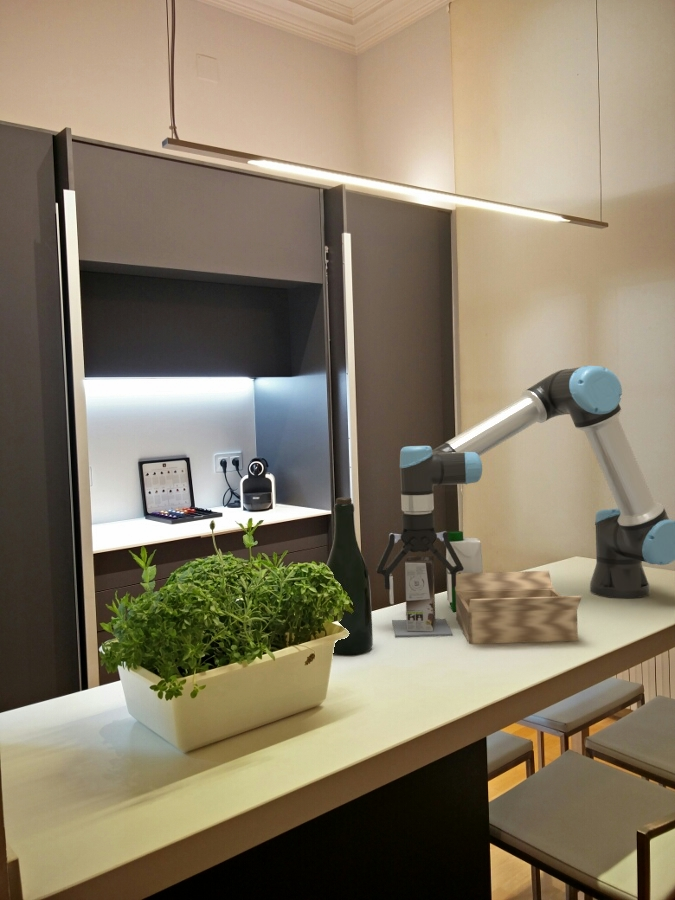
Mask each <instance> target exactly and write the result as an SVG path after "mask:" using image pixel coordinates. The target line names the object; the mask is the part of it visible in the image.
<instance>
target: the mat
mask: <svg viewBox="0 0 675 900" xmlns="http://www.w3.org/2000/svg"><path fill="white" fill-rule="evenodd" d="M391 622H392V628H393V634H394V638H420V637H423V638H424V637H453V636H454V634H453V632H452V629H451V627H450V625H449V622H448V621H447V619H446V618H435V625H434V630H433V632H422V631H407V623H406V619H392V620H391Z"/></svg>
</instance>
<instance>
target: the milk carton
mask: <svg viewBox="0 0 675 900" xmlns="http://www.w3.org/2000/svg"><path fill="white" fill-rule="evenodd" d="M446 532H447V533H448V536H449V542H450V544H451V545H452V547H453V549H454V551H455V553H456V555H457V557H458V558H459V560H460V562H461V564H462V566H463V568H464V569H463V571H459V572H457V573H456V574H461V573H484V568H483V550H482V541H480V539H478V538H477V537H466V536H464V531H462V530H451V531H446ZM445 550H446V553H445V554H446V555H445V559H446V560H447V561H448V562H449V563H450V564H451V565H452V566H453V567H454V566H456V564H455V562H454V561H453V559H452V557H451V555H450V553H449V551H448V550H447V548H446V547H445ZM447 572H450V571H449V570H448V569H447V568H446V573H447ZM448 603H449V607H450V608H451V611H452V613H453V612H456V591H455V587H452V602H448Z"/></svg>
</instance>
